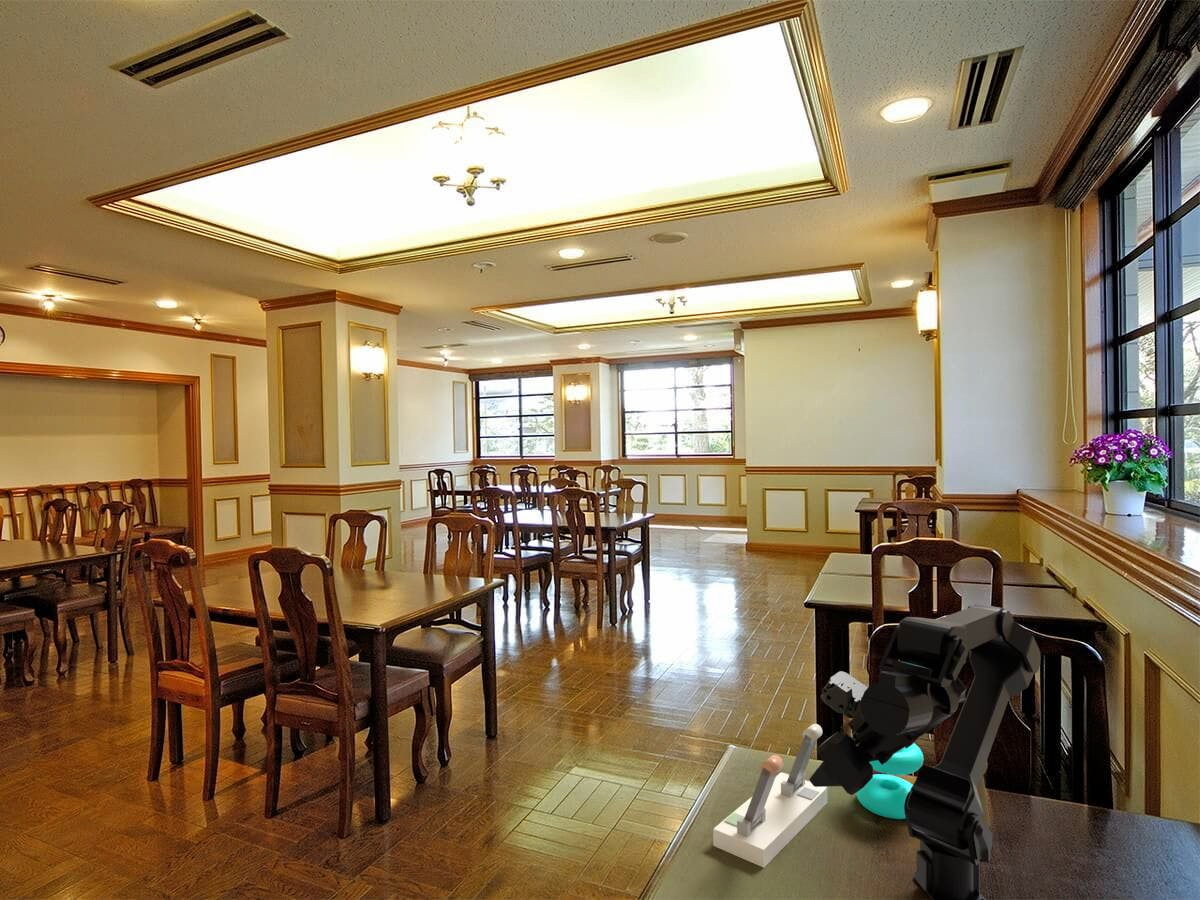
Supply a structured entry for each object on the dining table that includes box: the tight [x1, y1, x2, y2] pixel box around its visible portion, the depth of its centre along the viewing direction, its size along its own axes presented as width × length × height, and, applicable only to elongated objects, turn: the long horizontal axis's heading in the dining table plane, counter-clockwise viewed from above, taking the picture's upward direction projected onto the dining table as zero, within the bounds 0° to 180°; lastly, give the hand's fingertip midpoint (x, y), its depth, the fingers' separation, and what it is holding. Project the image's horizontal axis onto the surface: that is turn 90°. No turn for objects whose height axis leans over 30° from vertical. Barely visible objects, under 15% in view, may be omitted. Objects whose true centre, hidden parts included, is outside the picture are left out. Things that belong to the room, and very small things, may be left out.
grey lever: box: [786, 723, 824, 790], centre depth 110 cm, size 2×3×11 cm, turn 140°
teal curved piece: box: [855, 742, 924, 820], centre depth 110 cm, size 10×10×10 cm
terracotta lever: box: [744, 754, 784, 829], centre depth 99 cm, size 2×3×11 cm, turn 139°
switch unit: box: [712, 772, 828, 868], centre depth 105 cm, size 8×22×4 cm, turn 140°
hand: (821, 773), depth 93 cm, fingers open, 6 cm apart
